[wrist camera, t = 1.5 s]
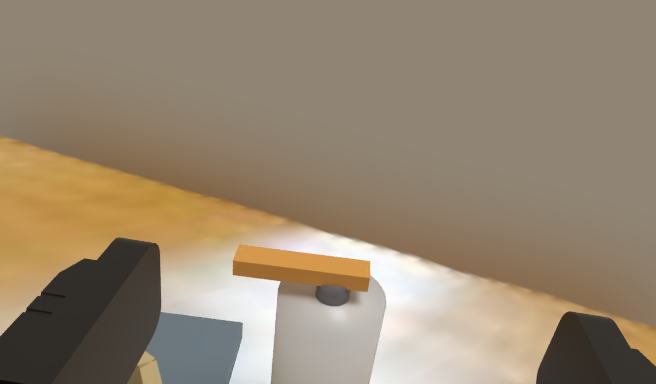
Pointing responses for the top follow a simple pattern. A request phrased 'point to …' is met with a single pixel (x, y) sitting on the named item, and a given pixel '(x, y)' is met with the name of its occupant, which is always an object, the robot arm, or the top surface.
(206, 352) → the socket plate
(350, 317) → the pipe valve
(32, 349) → the robot arm
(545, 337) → the top surface
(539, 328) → the top surface
